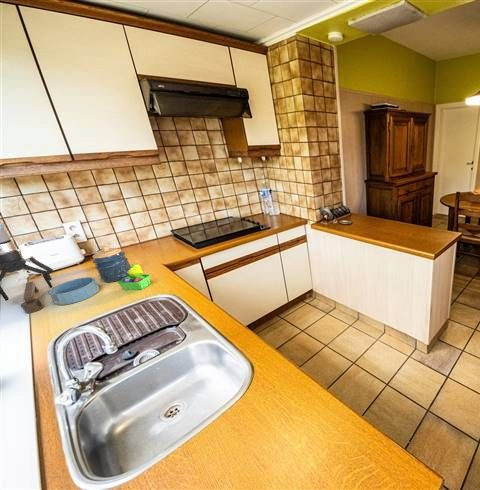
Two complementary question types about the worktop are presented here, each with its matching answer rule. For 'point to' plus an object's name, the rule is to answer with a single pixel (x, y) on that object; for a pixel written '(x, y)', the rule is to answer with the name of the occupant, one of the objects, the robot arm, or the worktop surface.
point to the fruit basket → (135, 279)
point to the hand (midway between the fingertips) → (30, 292)
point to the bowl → (74, 291)
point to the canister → (111, 264)
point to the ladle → (31, 299)
